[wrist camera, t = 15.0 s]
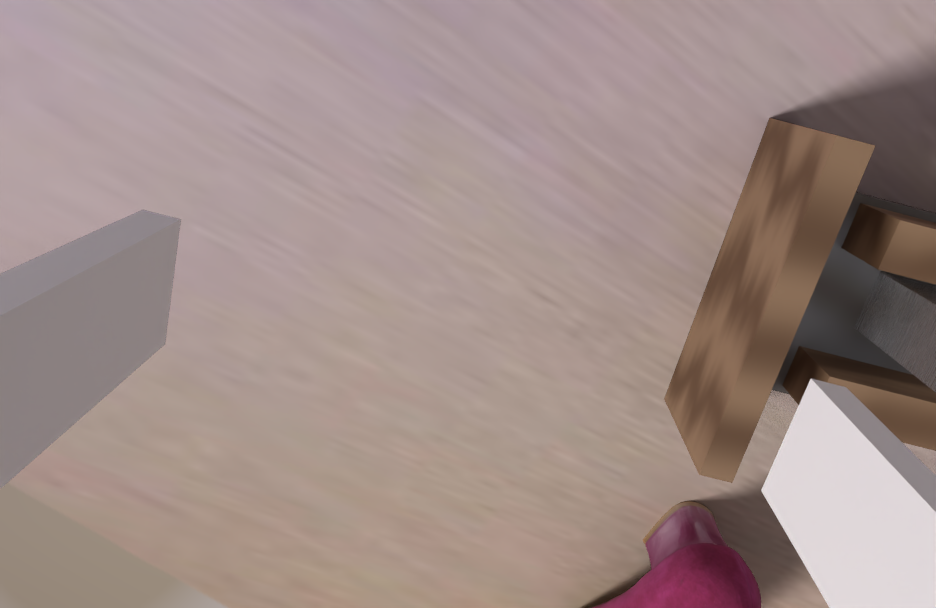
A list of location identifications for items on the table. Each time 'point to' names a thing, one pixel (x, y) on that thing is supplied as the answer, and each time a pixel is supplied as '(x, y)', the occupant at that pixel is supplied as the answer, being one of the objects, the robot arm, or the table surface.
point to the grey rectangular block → (903, 323)
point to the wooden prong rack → (800, 299)
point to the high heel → (690, 566)
